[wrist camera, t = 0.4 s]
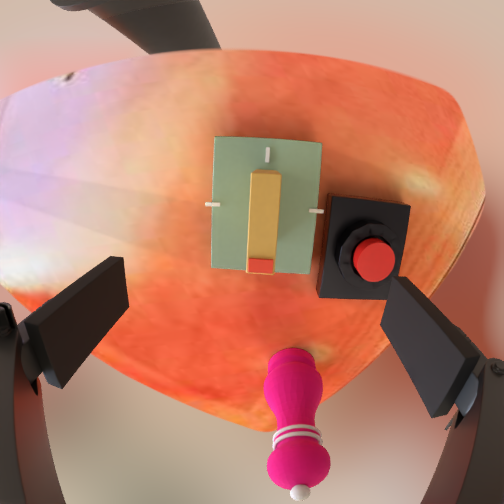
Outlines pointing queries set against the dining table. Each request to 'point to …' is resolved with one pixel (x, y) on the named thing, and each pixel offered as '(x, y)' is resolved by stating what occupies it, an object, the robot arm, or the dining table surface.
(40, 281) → the dining table surface
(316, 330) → the dining table surface
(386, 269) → the button
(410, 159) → the dining table surface
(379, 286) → the button block
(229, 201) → the plate
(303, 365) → the pepper mill
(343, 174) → the dining table surface
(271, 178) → the handle
